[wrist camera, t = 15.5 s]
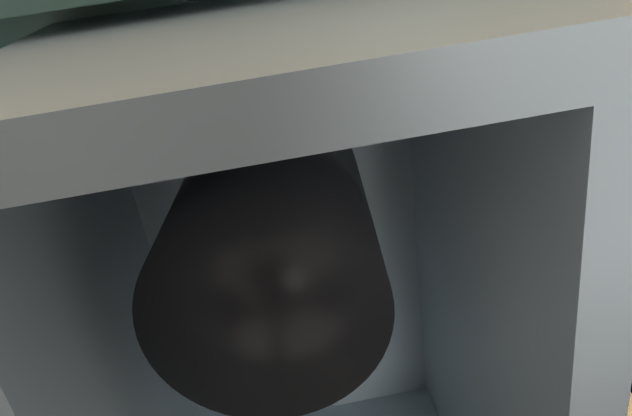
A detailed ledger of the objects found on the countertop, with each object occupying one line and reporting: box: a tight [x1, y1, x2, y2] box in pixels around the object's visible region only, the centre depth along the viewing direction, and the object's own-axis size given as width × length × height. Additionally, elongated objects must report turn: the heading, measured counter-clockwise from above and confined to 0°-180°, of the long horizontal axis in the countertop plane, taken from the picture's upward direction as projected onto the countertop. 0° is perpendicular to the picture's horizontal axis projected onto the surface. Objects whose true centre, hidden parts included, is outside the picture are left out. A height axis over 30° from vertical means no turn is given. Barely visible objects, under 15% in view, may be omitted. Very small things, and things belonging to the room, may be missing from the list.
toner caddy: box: [0, 0, 632, 416], centre depth 9 cm, size 12×6×6 cm, turn 9°
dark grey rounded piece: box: [132, 148, 395, 416], centre depth 8 cm, size 3×3×4 cm
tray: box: [0, 0, 198, 49], centre depth 11 cm, size 15×11×2 cm
